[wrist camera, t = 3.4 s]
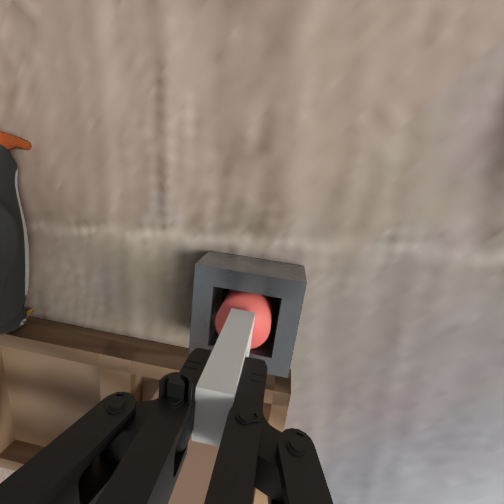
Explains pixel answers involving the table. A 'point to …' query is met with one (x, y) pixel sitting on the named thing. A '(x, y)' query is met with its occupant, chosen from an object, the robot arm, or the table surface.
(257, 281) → the button collar
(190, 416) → the robot arm
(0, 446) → the wooden divided tray
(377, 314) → the table surface
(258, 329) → the stop button
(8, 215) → the figurine
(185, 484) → the tan block
